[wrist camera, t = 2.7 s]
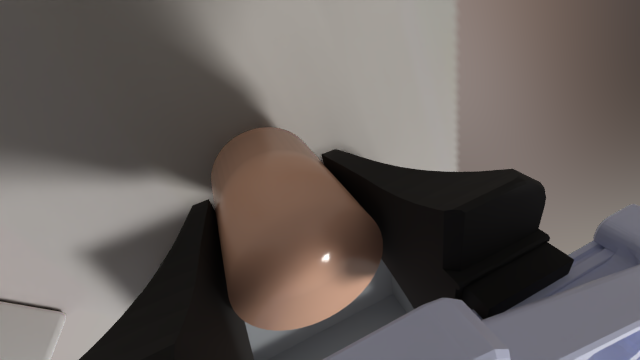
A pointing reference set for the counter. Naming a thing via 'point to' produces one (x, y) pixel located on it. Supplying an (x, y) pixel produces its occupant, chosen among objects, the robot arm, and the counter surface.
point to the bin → (335, 324)
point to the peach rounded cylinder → (289, 232)
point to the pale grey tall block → (28, 332)
